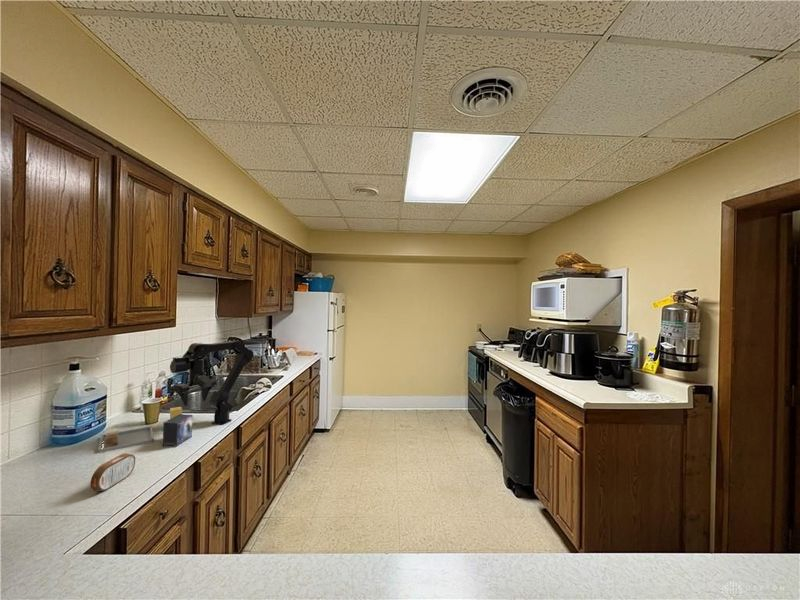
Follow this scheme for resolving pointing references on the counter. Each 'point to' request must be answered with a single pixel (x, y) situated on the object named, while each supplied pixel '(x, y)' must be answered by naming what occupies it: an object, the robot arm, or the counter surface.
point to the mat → (162, 427)
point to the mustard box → (175, 411)
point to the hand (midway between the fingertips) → (195, 403)
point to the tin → (112, 472)
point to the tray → (129, 438)
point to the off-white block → (112, 431)
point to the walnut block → (111, 440)
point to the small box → (177, 430)
